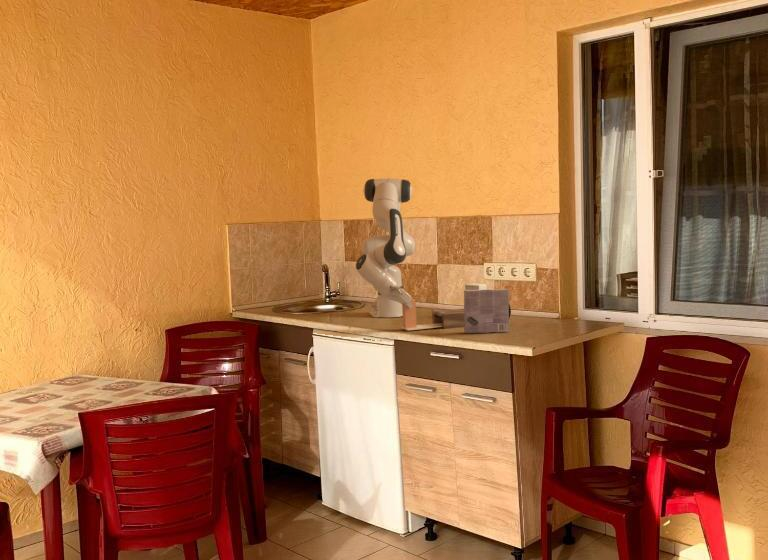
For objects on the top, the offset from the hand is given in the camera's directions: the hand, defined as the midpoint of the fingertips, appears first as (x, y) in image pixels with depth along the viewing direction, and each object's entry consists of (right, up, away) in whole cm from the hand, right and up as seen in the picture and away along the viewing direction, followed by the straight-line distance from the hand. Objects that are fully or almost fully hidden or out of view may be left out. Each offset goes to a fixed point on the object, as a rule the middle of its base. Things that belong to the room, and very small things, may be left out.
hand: (409, 306), depth 349 cm
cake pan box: (+32, -10, -14) cm, 36 cm away
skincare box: (+32, -6, +29) cm, 43 cm away
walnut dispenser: (+21, -8, +9) cm, 24 cm away
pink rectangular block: (+8, -9, +4) cm, 12 cm away
